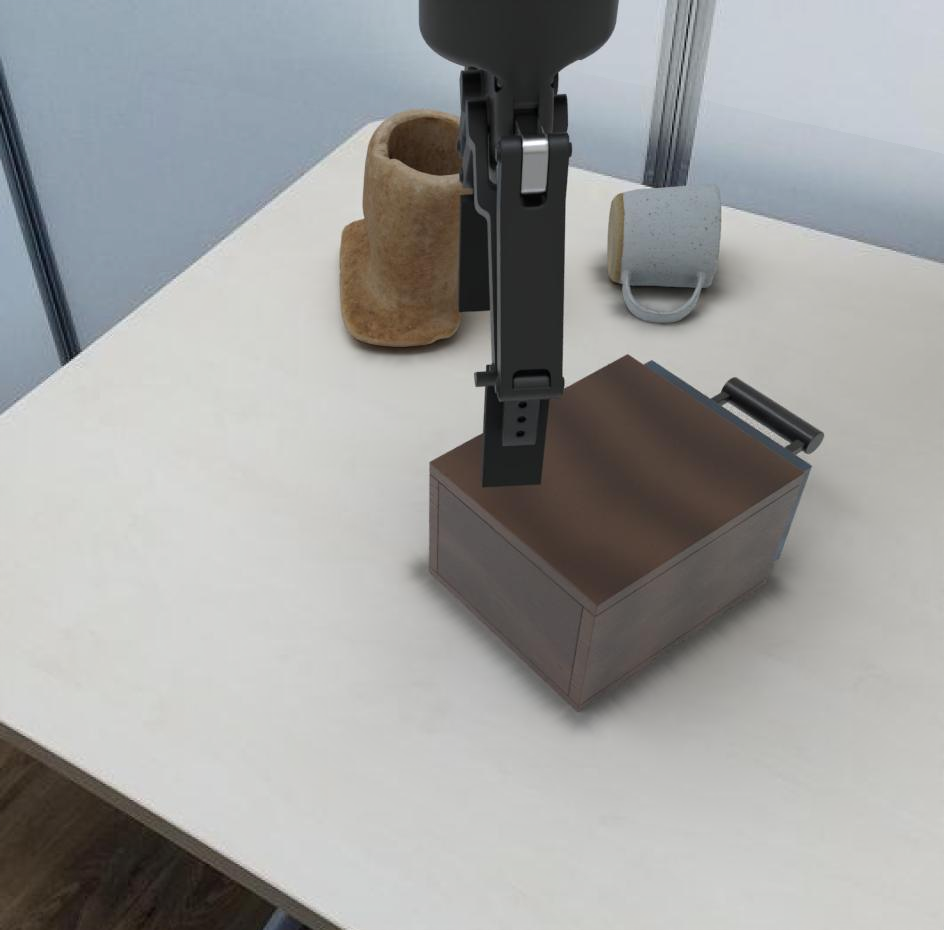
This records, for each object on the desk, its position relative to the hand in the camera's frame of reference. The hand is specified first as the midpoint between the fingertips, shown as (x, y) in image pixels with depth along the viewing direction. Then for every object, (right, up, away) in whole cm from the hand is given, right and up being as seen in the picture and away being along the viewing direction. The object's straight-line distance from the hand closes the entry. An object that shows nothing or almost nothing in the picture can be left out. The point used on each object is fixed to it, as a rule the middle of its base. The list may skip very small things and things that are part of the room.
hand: (495, 387), depth 57 cm
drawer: (+12, -6, +16) cm, 21 cm away
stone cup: (-2, +14, +35) cm, 38 cm away
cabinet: (+8, -9, +14) cm, 19 cm away
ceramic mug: (+18, +14, +34) cm, 41 cm away
